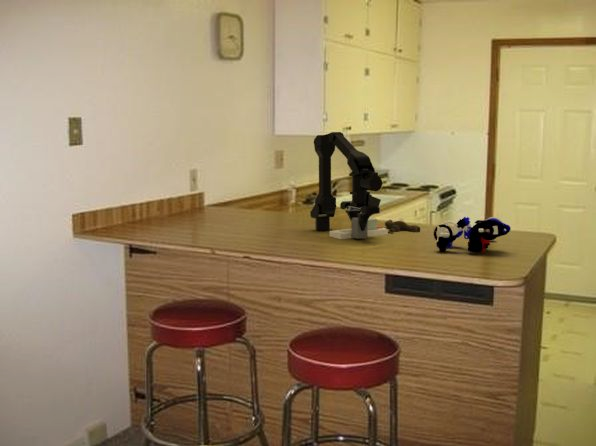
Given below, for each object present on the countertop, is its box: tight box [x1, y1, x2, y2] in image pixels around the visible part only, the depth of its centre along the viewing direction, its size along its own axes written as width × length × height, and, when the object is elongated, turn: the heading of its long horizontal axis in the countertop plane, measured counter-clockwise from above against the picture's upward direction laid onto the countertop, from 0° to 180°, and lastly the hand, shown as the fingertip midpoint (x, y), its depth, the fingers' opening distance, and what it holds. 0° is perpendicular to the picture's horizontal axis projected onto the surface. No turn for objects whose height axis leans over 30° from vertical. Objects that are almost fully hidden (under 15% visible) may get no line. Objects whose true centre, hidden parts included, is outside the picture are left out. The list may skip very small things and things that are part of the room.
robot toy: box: [433, 216, 511, 253], centre depth 240 cm, size 16×12×25 cm
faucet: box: [384, 219, 421, 235], centre depth 279 cm, size 5×17×15 cm
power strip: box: [329, 225, 389, 240], centre depth 270 cm, size 22×8×4 cm, turn 118°
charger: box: [350, 217, 368, 239], centre depth 260 cm, size 4×4×7 cm
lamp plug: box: [367, 217, 378, 231], centre depth 272 cm, size 4×4×6 cm
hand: (359, 229), depth 260 cm, fingers closed on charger, 4 cm apart
